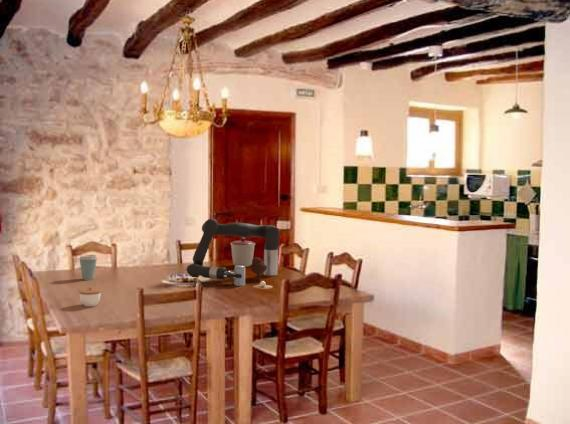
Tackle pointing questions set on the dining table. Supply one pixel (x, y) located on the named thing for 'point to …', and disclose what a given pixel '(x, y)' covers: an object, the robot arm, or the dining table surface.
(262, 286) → the egg
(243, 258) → the canister
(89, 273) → the disposable coffee cup
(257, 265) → the ice cream bowl
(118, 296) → the dining table surface
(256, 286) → the cork mat
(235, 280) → the silver soda can
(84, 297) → the lidded jar
